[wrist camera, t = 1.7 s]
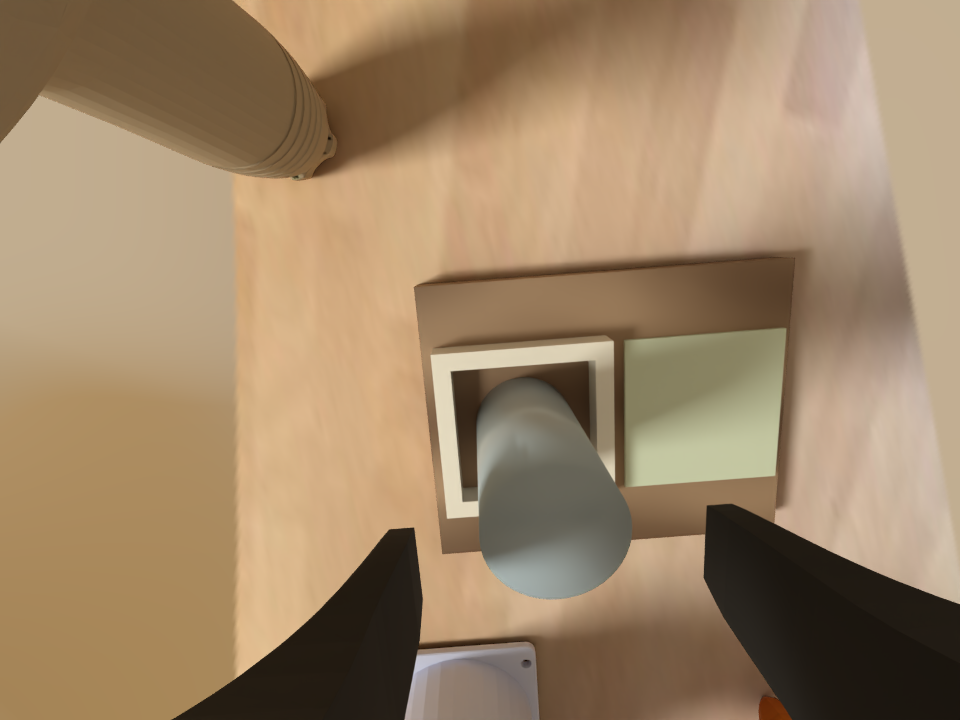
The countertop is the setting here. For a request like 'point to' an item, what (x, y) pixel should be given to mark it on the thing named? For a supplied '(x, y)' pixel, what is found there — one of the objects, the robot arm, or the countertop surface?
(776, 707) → the carrot
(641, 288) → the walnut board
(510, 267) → the countertop surface
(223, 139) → the handle
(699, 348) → the pad
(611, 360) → the cream square frame
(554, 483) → the grey-blue cylinder
